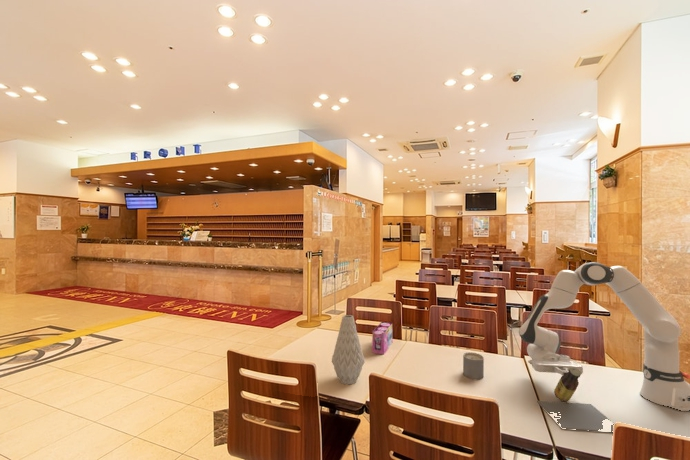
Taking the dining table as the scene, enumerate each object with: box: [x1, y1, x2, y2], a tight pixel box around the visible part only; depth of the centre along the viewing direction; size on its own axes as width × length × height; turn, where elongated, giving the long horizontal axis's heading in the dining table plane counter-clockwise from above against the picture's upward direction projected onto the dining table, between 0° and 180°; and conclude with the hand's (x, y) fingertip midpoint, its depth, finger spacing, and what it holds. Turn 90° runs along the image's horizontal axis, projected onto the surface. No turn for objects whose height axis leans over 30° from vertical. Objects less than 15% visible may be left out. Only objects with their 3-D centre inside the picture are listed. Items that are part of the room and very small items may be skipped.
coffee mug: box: [462, 351, 485, 380], centre depth 165 cm, size 13×10×10 cm
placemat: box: [536, 400, 615, 432], centre depth 127 cm, size 22×19×1 cm
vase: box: [331, 314, 365, 385], centre depth 158 cm, size 17×17×33 cm
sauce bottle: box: [553, 367, 582, 403], centre depth 134 cm, size 6×6×20 cm
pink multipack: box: [371, 321, 393, 356], centre depth 201 cm, size 24×8×14 cm, turn 158°
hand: (566, 373), depth 136 cm, fingers closed
